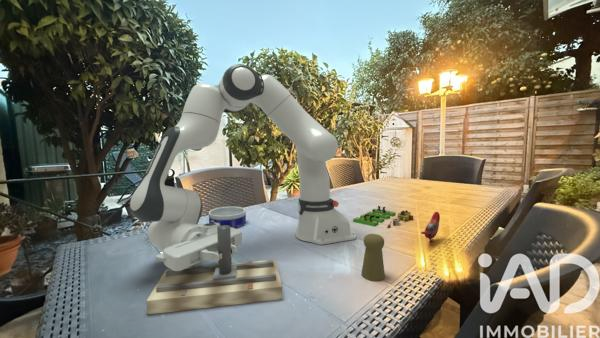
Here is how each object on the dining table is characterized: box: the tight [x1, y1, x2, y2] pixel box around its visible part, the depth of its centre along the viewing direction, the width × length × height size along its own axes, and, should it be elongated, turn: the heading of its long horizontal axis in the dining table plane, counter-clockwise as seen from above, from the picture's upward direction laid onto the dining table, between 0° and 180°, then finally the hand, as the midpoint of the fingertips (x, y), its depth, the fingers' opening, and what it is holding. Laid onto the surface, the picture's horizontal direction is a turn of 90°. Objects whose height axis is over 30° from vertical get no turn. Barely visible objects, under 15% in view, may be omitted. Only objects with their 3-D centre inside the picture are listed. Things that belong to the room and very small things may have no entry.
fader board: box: [145, 259, 283, 315], centre depth 65 cm, size 28×14×4 cm, turn 101°
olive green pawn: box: [360, 233, 386, 282], centre depth 71 cm, size 6×6×11 cm
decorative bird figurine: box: [420, 211, 441, 244], centre depth 93 cm, size 3×18×10 cm, turn 137°
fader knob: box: [213, 225, 237, 280], centre depth 64 cm, size 5×5×12 cm
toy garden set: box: [352, 205, 414, 229], centre depth 121 cm, size 23×19×5 cm
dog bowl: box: [208, 206, 247, 229], centre depth 115 cm, size 15×15×6 cm
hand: (227, 253), depth 64 cm, fingers closed on fader knob, 3 cm apart
